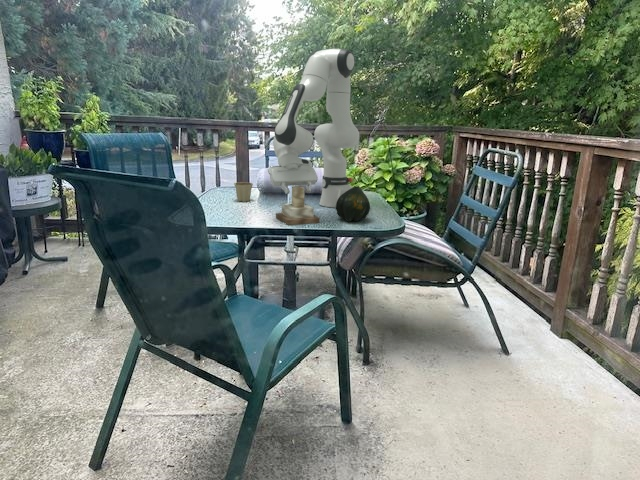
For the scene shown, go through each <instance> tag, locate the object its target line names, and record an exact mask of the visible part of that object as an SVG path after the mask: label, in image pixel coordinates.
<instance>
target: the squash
mask: <svg viewBox="0 0 640 480" xmlns="http://www.w3.org/2000/svg"><path fill="white" fill-rule="evenodd" d="M352 187H353V188H351V189H349V190H348V191H346V192H345V193H343V194H342V195H341V196H340V197H339V198H338V200H337V203H336V208H335V210H336V215H338V217H340V218H342V219H345V221H347V222H349V223H350V222H359V220H364V219H366V218H367V216H368V215H369V213H370V211H371V204H370V201H369V199H368V198H369V197H367V195H366V193H365V192H364V190H363V189H362V188H361V187H360V185H358V186H352Z"/></svg>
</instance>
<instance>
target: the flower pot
mask: <svg viewBox="0 0 640 480" xmlns="http://www.w3.org/2000/svg"><path fill="white" fill-rule="evenodd" d="M233 185H234V188H235V192H236V200H237V201H238V202H243V203H246V202H247V203H248V202H250V201H251V193H252V188H253V185H254V183H252V182H248V181H246V182H241V181H240V182H234V183H233Z"/></svg>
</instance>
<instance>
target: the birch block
mask: <svg viewBox="0 0 640 480" xmlns="http://www.w3.org/2000/svg"><path fill="white" fill-rule="evenodd" d="M305 192H306V189H305V187H304V186H302V185H294V186H291V204H292V206H293V207H304V204H305Z"/></svg>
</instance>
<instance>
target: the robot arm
mask: <svg viewBox="0 0 640 480" xmlns="http://www.w3.org/2000/svg"><path fill="white" fill-rule="evenodd" d="M355 61H356V60H355V54H354V53H353V52H352V51H351V50H350V49H348V48H329V49H327V48H326V49H322V50H320V49H318V50H314V51H311V53H310V54H309V55H308V57H307V60H306V64H305V67H304V69H303V72H302V76H301V78H300V82H299V83H297V84H296V85H295V86H294V87H293V88H292V91H291V92H290V94H289V96H288V99H287V102H286V104H285V106H284V109H283V112H282V114H281V116H280V118H279V120H278V121H277V123H276V125H275V126H274V137H273V138H272V139H273V140H272V146H273V150H274V153H275V157H276V158H277V164H278V165H271V166H269V167H268V168H267V172H268V175H269V179H270V183H271V184H270V185H271V186H272V187H280V188H281V189H282V191H284V193H285V195H289V194H290V193H291V191H290V190H291V189H290V188H289V187H290V186H291V187H294V186H306V189H305V192H306V194H310V193H311V191H312V189H311V187H312V185H316V183H317V182H318V180H319V178H318V174H317V172H316V170H315V167H313V166H312V161H310V160H309V159H304V158H301V157H299V156H301V155H303V154H305V153H306V152H308V151H309V150H310V149H311V148H312V146H313V143H314V140H315V142H316V143H317V144H318V146H319V148H320V151H321V155H322V159H323V175H322V180H321V183H322V184H321V187H322V189H321V196H320V200H319V202H318V203H319V204H318V205H320V206H322V207H326V208H335V209H336V203H337V200H338V198H339V197H340V196H341V195H342V194H343V193H345V192H346V191H348V190H349V189H351V188H353V187H354V186H351V184H350V183H353V181H354V179H353V178H352V177H348V176H347V163H348V162H347V158H346V157H344V155H343V154H342V150H341V149H349V148H354V147H356V146H357V145H358V143H359V141H360V132H359V129H358V128H357V127H356V125H355V124H354V122H353V119H352V116H351V89H352V88H351V87H352V86H351V73H352V72H353V70H354V68H355V64H356V63H355ZM325 93H326V101H325V102H326V103H325V106H326V107H325V109H326V112H327V113H328V114H329V115H330V118H331V120H332V123H329V122H327V123H323V124H320V125H318V126H317V127H316V128H315V130H314V135H313V133H312V132H311V131H309V130H307V128H304V127H302V126H300V125H299V124H298V123H297V122H296V120H297V116H298V114H299V110H300V109H301V106H302V104H303V103H304V102H317V101H318V100H321V99H322V98H323V97H324V95H325Z"/></svg>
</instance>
